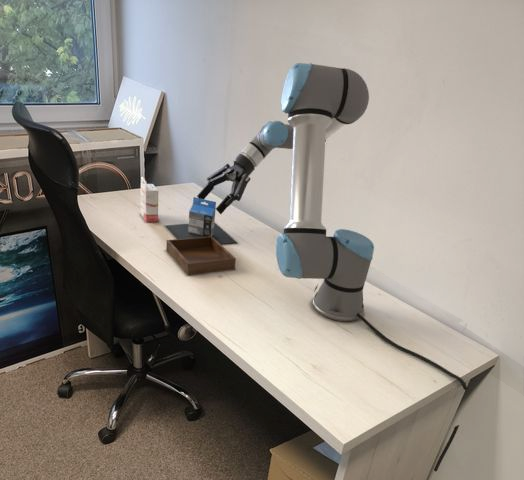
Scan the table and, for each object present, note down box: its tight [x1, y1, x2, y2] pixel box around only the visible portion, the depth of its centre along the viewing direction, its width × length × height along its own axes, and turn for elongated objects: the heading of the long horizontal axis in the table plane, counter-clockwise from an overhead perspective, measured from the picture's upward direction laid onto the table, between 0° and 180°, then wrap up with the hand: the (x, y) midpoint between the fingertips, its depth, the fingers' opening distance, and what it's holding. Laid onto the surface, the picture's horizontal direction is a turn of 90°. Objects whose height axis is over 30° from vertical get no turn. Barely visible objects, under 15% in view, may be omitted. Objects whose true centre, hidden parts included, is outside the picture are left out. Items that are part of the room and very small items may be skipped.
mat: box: [165, 222, 238, 246], centre depth 177 cm, size 20×20×1 cm
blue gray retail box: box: [188, 196, 217, 237], centre depth 174 cm, size 9×4×12 cm, turn 76°
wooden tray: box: [165, 236, 237, 276], centre depth 158 cm, size 19×17×4 cm
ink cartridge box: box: [140, 176, 159, 223], centre depth 180 cm, size 9×5×15 cm, turn 25°
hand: (208, 205), depth 172 cm, fingers open, 13 cm apart
